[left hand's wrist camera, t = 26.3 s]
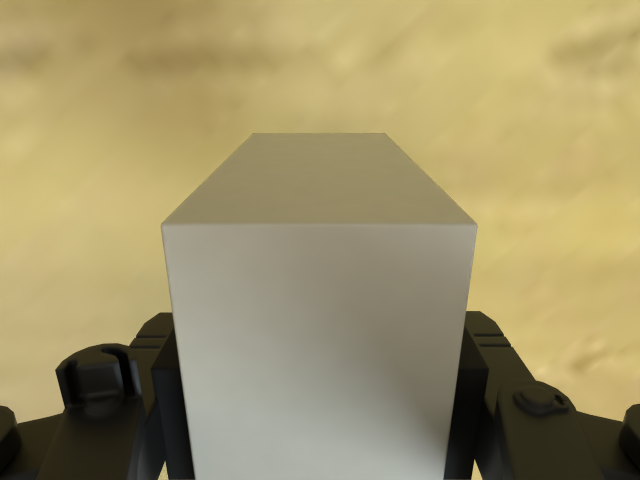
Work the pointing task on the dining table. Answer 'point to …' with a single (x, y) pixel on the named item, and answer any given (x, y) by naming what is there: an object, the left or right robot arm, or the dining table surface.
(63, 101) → the dining table surface
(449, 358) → the brick
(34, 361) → the dining table surface
